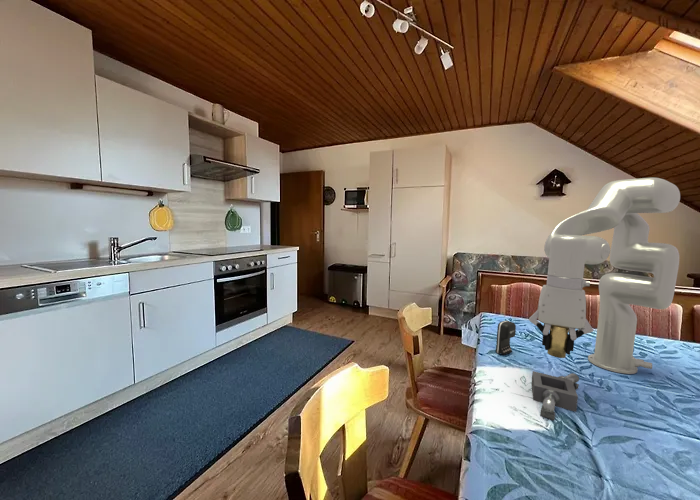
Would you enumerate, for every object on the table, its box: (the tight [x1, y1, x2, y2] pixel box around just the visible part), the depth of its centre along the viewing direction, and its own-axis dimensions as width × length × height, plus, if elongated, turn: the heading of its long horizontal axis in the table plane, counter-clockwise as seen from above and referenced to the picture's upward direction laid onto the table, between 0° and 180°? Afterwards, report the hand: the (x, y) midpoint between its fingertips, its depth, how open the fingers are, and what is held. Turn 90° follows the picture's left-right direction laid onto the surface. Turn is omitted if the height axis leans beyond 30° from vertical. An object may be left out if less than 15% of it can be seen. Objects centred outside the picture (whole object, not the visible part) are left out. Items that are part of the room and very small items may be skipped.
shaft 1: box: [539, 389, 560, 421], centre depth 73 cm, size 7×4×4 cm, turn 141°
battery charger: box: [495, 320, 517, 356], centre depth 107 cm, size 7×4×11 cm, turn 125°
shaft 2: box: [558, 372, 580, 390], centre depth 84 cm, size 7×4×4 cm, turn 121°
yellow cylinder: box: [546, 325, 569, 359], centre depth 78 cm, size 4×4×8 cm
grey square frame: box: [530, 371, 579, 413], centre depth 79 cm, size 9×9×4 cm
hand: (556, 349), depth 78 cm, fingers closed on yellow cylinder, 4 cm apart
